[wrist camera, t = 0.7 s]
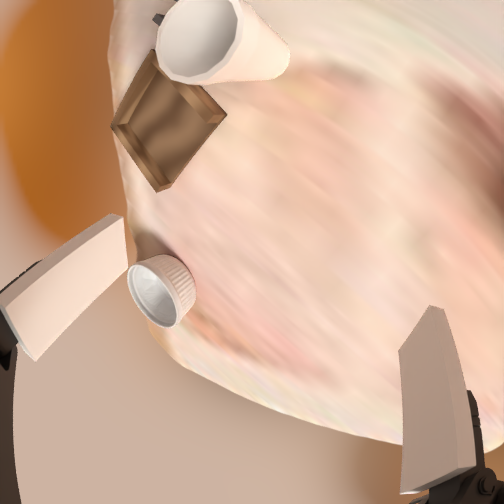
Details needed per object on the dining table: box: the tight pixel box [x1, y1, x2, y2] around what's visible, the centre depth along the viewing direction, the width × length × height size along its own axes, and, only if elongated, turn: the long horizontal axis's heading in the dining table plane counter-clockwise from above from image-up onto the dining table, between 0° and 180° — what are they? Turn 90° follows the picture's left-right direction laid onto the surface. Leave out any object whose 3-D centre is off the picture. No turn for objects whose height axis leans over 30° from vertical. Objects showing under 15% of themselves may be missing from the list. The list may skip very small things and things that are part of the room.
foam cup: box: [155, 0, 290, 86], centre depth 22 cm, size 10×9×13 cm
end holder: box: [110, 49, 227, 193], centre depth 36 cm, size 16×16×3 cm
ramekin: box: [127, 254, 196, 328], centre depth 49 cm, size 13×13×7 cm
